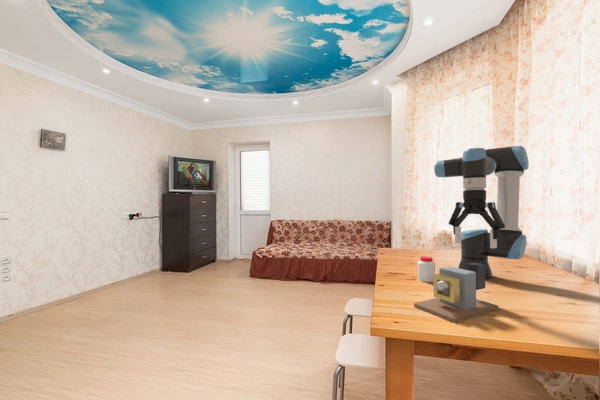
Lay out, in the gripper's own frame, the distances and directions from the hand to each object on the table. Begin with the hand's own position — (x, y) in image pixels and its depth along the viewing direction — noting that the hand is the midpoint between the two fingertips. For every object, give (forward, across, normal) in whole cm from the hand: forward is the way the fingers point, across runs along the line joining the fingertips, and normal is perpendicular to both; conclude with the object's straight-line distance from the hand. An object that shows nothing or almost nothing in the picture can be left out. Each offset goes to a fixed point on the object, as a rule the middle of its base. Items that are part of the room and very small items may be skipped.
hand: (474, 245), depth 111 cm
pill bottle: (+22, -30, +9) cm, 38 cm away
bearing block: (+22, 0, -11) cm, 24 cm away
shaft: (+16, 0, -9) cm, 18 cm away
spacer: (+18, 0, -17) cm, 24 cm away
